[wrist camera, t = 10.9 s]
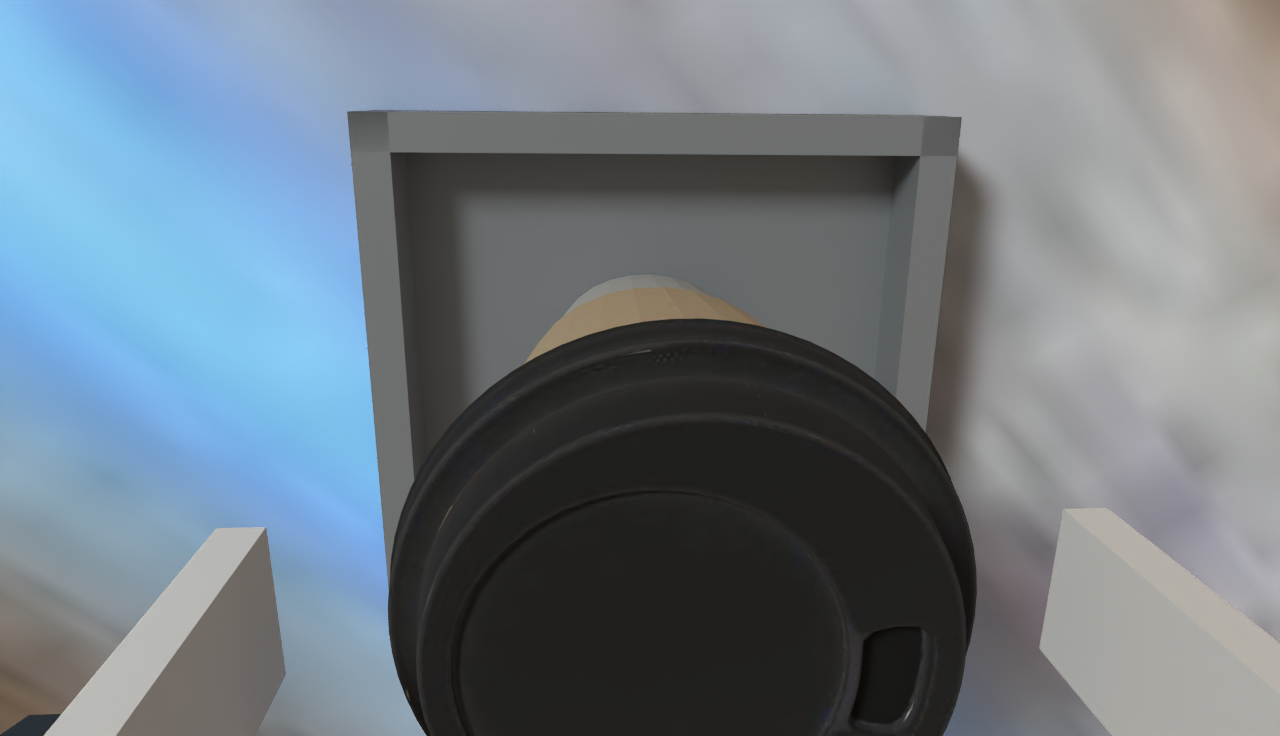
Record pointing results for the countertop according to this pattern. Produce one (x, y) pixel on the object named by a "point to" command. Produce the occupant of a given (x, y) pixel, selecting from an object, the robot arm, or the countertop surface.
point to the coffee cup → (681, 540)
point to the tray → (636, 242)
